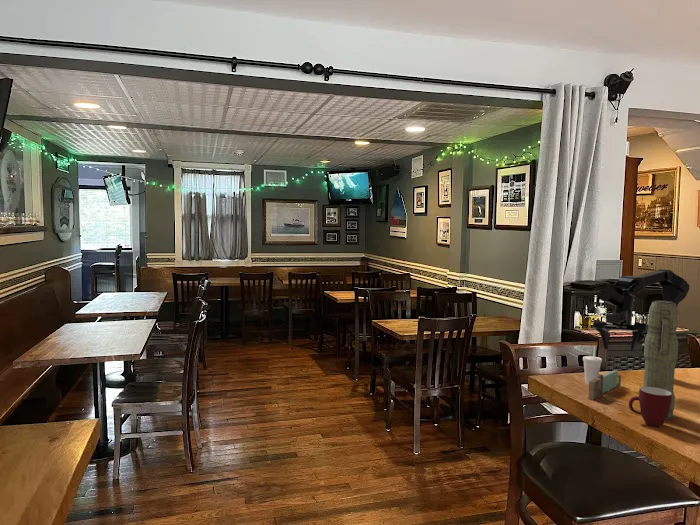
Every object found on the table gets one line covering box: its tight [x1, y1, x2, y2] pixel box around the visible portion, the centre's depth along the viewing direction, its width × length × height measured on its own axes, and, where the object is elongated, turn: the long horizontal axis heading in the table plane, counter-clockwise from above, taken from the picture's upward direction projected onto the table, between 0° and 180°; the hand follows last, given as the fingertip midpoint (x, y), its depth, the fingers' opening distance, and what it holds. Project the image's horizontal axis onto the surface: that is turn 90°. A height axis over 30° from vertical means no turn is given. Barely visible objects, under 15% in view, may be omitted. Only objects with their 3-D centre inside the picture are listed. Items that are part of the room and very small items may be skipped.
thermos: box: [642, 299, 679, 420], centre depth 154 cm, size 9×12×35 cm
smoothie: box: [582, 346, 603, 386], centre depth 185 cm, size 6×6×14 cm
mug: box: [628, 386, 672, 428], centre depth 147 cm, size 11×8×10 cm
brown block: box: [588, 373, 622, 401], centre depth 176 cm, size 24×2×7 cm, turn 133°
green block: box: [602, 369, 619, 395], centre depth 178 cm, size 13×2×6 cm, turn 133°
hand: (618, 350), depth 182 cm, fingers open, 9 cm apart
